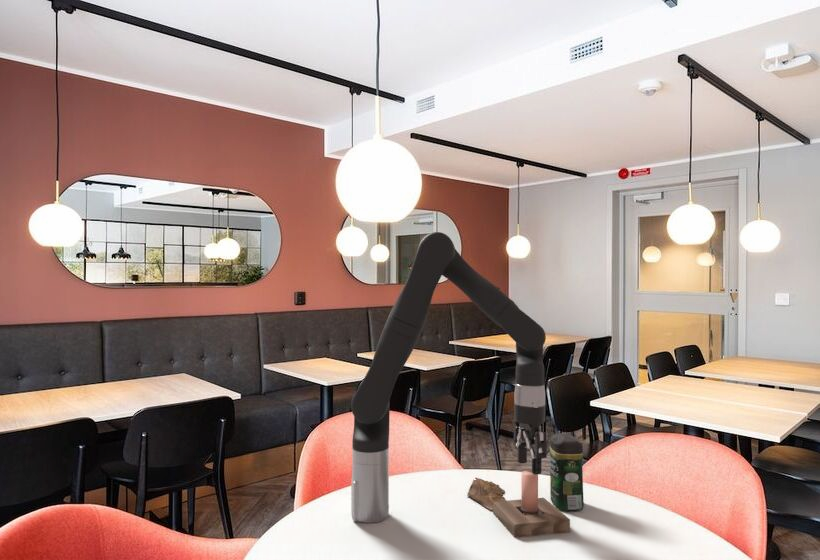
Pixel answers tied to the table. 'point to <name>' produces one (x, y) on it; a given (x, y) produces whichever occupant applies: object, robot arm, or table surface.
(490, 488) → the wooden fragment
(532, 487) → the terracotta leg
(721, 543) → the table surface
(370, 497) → the robot arm
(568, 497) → the coffee jar
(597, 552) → the table surface
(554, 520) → the walnut board
